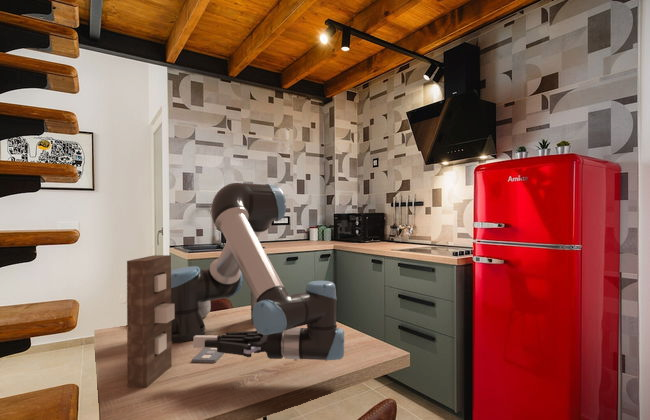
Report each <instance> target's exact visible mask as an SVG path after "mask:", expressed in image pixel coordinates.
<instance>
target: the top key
mask: <svg viewBox="0 0 650 420" xmlns="http://www.w3.org/2000/svg"><path fill="white" fill-rule="evenodd" d="M164 289H166V274H155V275H154V292H159V291H162V290H164Z"/></svg>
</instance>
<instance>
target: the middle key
mask: <svg viewBox="0 0 650 420" xmlns="http://www.w3.org/2000/svg"><path fill="white" fill-rule="evenodd" d="M173 319H175V309H174V304H158V305H156V306H154V320H155V323H168V322H170V321H171V320H173Z"/></svg>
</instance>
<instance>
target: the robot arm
mask: <svg viewBox="0 0 650 420" xmlns="http://www.w3.org/2000/svg"><path fill="white" fill-rule="evenodd" d="M286 201H287V200H286V197H285V193H284V191H283V190H282V189H281V188H280V187H279V186H277V185H274V184H269V183H266V184H262V183H261V184H260V183H245V182H243V183H242V182H233V183H232V182H231V183H229V184H227V185H225V186H223V187H221V188H220V190H218V191H217V193H216V194H215V195H214V197H213V199H212V202H211V208H210V209H211V211H210V212H211V213H210V214H211V219H212V222H213V225H214V226H215V229H216V230H217V231H219V232H220V233H222V234H223V236H224V238H225V240H226V243H225V245H224V246H223V249H222V251H221V253H220V254H219V256H218V258H216V259H214V260H213V261H212V262H211V263H210V265H209V267H208V268H205V269H201V268H200V267H199V266H197V265H193V266H192V265H191V266H184V267H180V268H176V269H171V304H174V309H175V319H173V320H171V343H182V342H188V341H192V340H193V341H192V342H193V343H192V344H193V347H192V348H195V349H196V348H197V349H200V348H201V349H204V348H217V352H220V353H224V354H230V355H235V356H243V357H245V358H251V357H252V353H254V354H260V353H266V356H267V358H268V359H270V360H272V359H273V360H276V359H277V360H281V359H282V360H283V358H284V359H285V360H293V361H294V362H295V361H298V360H315V361H316V360H317V361H321V360H322V361H326V362H327V361H340V360H342V359H343V358H344V357H345V330H344V329H343V328H339V327H338V326H337V300H338V298H337V290H336V284H335V283H334V282H332V281H329V280H313V281H309V282H308V283H307V285H306V289H305V292H300V293H296V294H289V293H288V290H287V289H286V287H285V286H284V285H283V282H282V280H281V279H280V277H279V275H278V273H277V271H276V269H275V268H274V266H273V264H272V262H271V260H270V258H269V256H268V255H267V253H266V251H265V249H264V247H263V245H262V244H261V241H260V240H259V236H260V234H261V233H264V232H266V231H267V230H268V229H269V228H270V226H271V224H272V223H273V222H279V221H281V220H283V219H284V217H285V214H286V211H287V204H286V203H287V202H286ZM243 278H244V280H245V282H246V284H247V286H248V288H249V290H250V294H251V293H252V295H253V297H254V299H255V301H256V304H255V305H254V307H253V311H252V318H253V320H254V322H252V325H253V324H254V325H253V327H254V328H255V330H247V331H228V332H226V333H225V334H222V335H210V334H209V335H207V334H206V325H205V323H204V322H205V321H204V320H203V318H202V316H201V313H200V302H205V301H210V302H211V301H215V300H221V299H222V300H223V299H229V298H230V297H234V296H236V295H238V294H239V293H240V291H241V290H242V287H243V282H244V281H243ZM303 326H306V327H303ZM205 334H206V335H205Z"/></svg>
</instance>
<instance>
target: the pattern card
mask: <svg viewBox="0 0 650 420" xmlns="http://www.w3.org/2000/svg"><path fill="white" fill-rule="evenodd" d="M224 354H225V353H220V352H217V348H202V350H200V352H198V353H197V354H196V355H195V356H194V357H193V358H192V359H191V362H192V363H217V362H218V361H219V360H220V358H221V357H222V356H223V355H224Z"/></svg>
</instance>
